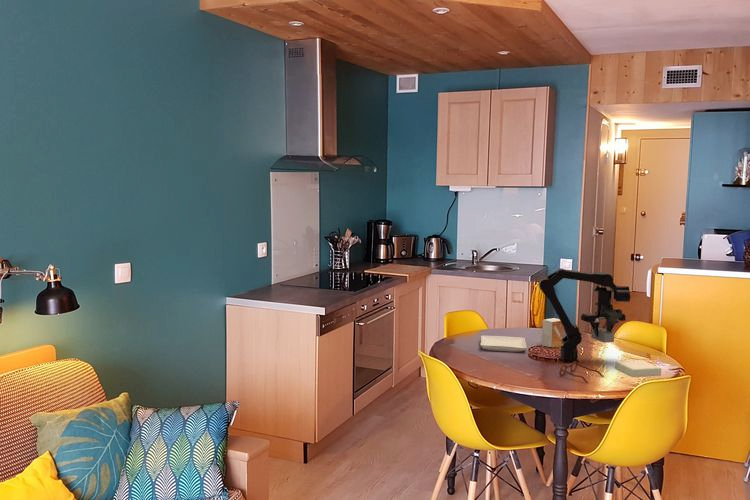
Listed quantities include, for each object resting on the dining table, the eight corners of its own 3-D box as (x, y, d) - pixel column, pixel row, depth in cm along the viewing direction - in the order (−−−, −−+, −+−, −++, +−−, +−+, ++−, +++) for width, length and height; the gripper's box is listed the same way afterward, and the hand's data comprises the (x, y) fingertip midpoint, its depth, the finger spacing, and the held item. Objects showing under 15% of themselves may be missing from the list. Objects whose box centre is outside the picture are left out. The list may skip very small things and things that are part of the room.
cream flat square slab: (524, 343, 320) (524, 336, 320) (526, 354, 300) (527, 347, 299) (480, 341, 324) (481, 334, 324) (480, 352, 303) (480, 345, 303)
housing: (604, 342, 280) (604, 331, 280) (591, 337, 289) (591, 327, 288) (613, 341, 282) (614, 331, 281) (600, 337, 290) (601, 326, 290)
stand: (632, 376, 265) (633, 369, 264) (614, 367, 277) (614, 361, 277) (661, 375, 267) (661, 368, 267) (641, 366, 280) (642, 359, 280)
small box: (551, 348, 309) (552, 321, 308) (541, 346, 314) (542, 319, 313) (562, 346, 313) (563, 319, 312) (552, 343, 319) (553, 317, 317)
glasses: (575, 371, 273) (575, 359, 273) (604, 378, 264) (604, 366, 263) (558, 377, 265) (558, 365, 264) (587, 384, 255) (588, 372, 255)
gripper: (594, 305, 274) (593, 341, 275) (634, 304, 278) (632, 339, 279) (580, 300, 284) (579, 335, 286) (619, 299, 289) (617, 334, 290)
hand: (602, 336), depth 285 cm, fingers closed on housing, 5 cm apart
